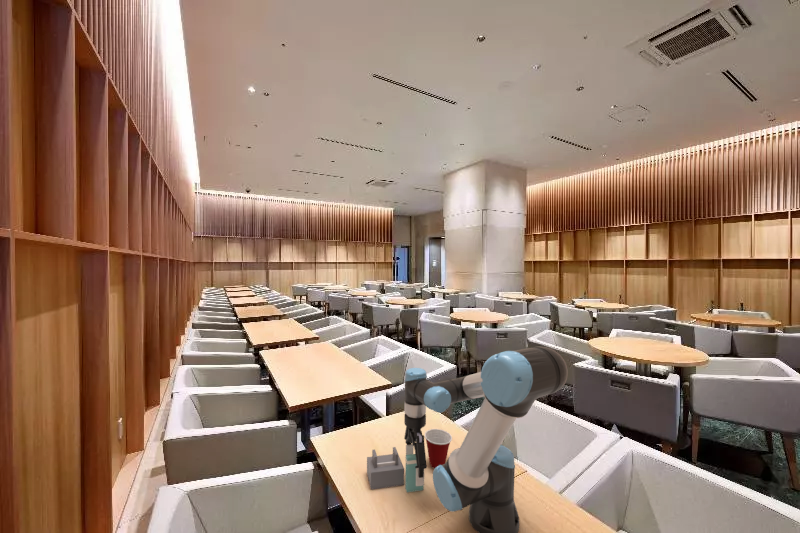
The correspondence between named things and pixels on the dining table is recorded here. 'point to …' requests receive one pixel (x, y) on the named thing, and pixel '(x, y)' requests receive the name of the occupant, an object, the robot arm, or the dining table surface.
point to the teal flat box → (411, 474)
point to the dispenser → (385, 470)
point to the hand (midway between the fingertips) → (414, 473)
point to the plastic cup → (437, 446)
